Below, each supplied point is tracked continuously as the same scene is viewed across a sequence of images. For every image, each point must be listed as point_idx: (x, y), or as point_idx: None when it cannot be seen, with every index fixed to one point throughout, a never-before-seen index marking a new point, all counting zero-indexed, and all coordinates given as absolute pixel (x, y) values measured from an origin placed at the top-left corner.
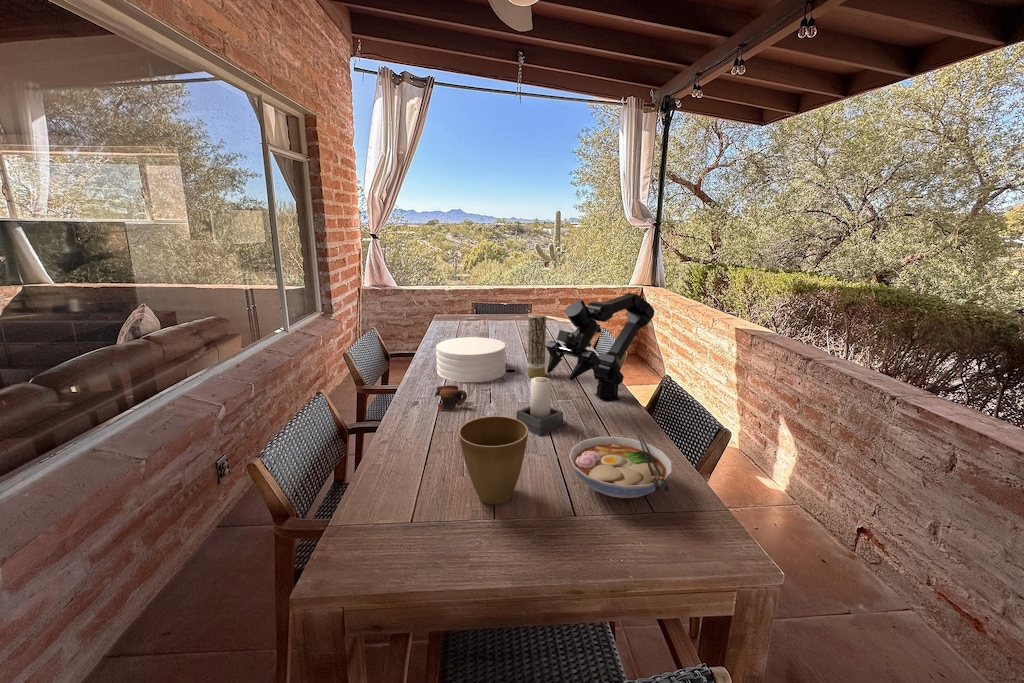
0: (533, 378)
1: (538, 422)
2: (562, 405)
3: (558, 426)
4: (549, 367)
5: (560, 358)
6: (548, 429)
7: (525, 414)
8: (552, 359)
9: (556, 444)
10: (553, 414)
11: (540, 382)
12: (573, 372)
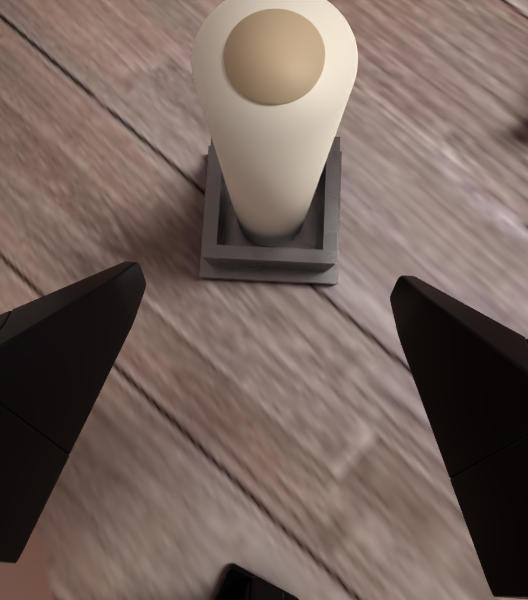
0: (349, 48)
1: None
2: (324, 402)
3: (203, 231)
4: (423, 294)
5: (512, 579)
6: (206, 184)
7: None
8: (515, 367)
9: (143, 150)
10: (216, 212)
11: (243, 22)
12: (73, 288)
